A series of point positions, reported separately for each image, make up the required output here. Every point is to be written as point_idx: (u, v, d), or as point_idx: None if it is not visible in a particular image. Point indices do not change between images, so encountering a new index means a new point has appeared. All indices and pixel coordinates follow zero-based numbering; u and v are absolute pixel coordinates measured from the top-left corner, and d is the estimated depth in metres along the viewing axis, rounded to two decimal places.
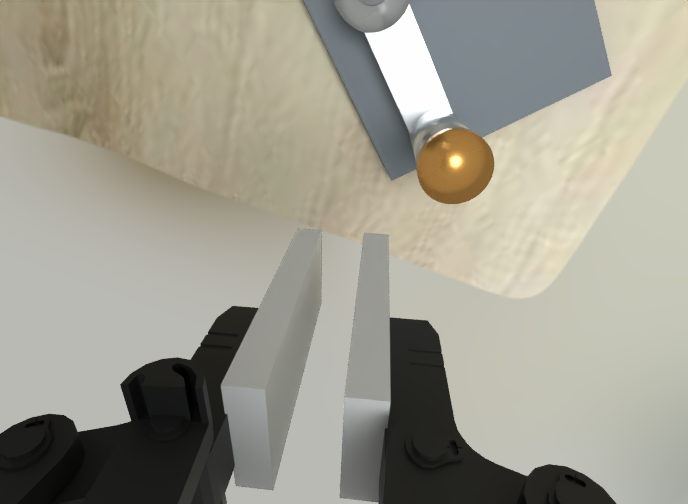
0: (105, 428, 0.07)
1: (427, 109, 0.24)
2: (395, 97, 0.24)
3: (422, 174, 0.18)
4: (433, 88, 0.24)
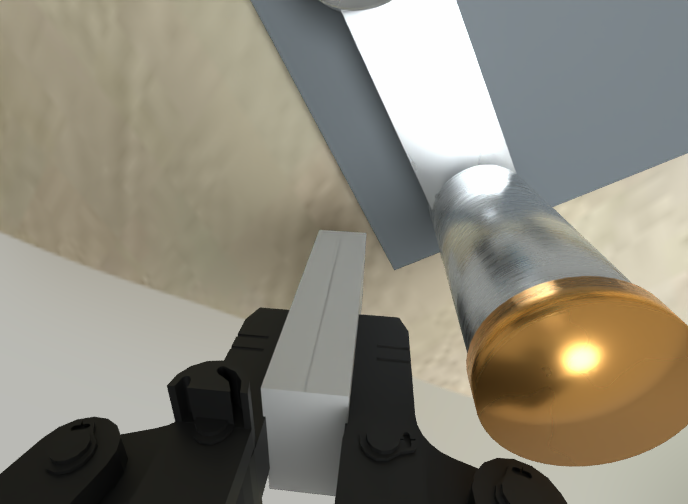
0: (145, 431, 0.07)
1: (466, 164, 0.12)
2: (404, 141, 0.12)
3: (487, 403, 0.06)
4: (480, 125, 0.12)
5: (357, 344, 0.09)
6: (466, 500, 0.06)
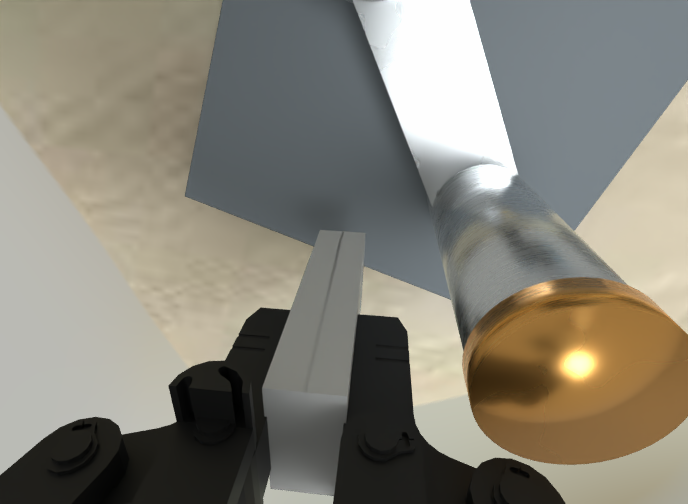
0: (146, 431, 0.07)
1: (469, 163, 0.12)
2: (408, 136, 0.12)
3: (482, 398, 0.07)
4: (485, 124, 0.12)
5: (356, 344, 0.09)
6: (464, 500, 0.06)
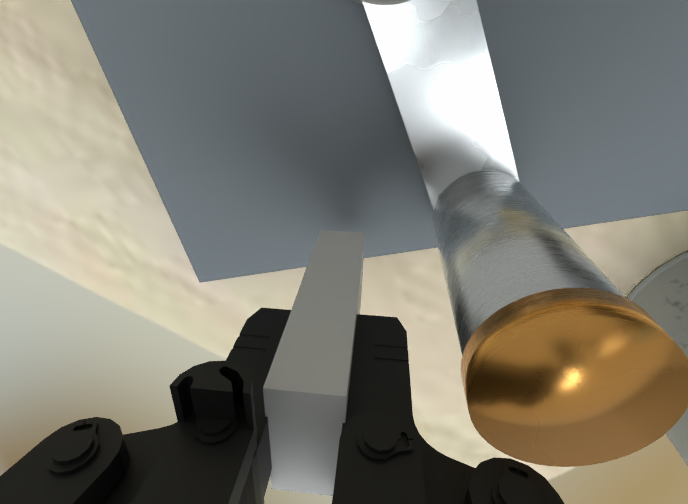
0: (147, 431, 0.07)
1: (472, 168, 0.13)
2: (413, 139, 0.12)
3: (480, 400, 0.07)
4: (489, 130, 0.12)
5: (355, 344, 0.09)
6: (463, 500, 0.06)
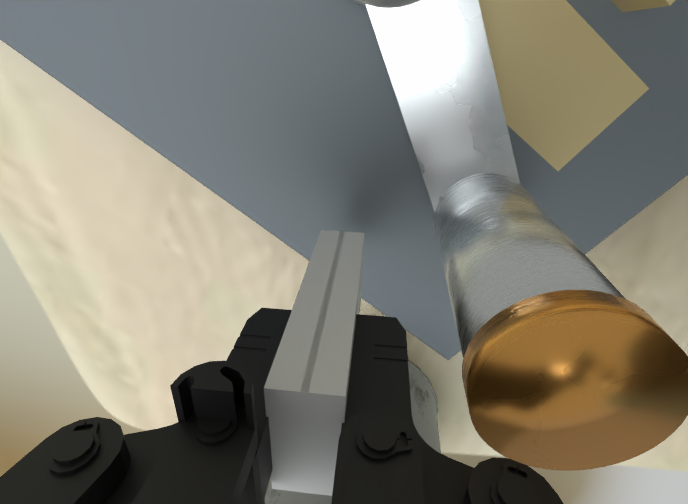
0: (148, 431, 0.07)
1: (473, 171, 0.13)
2: (414, 142, 0.12)
3: (481, 403, 0.07)
4: (491, 133, 0.12)
5: (354, 344, 0.09)
6: (462, 500, 0.06)
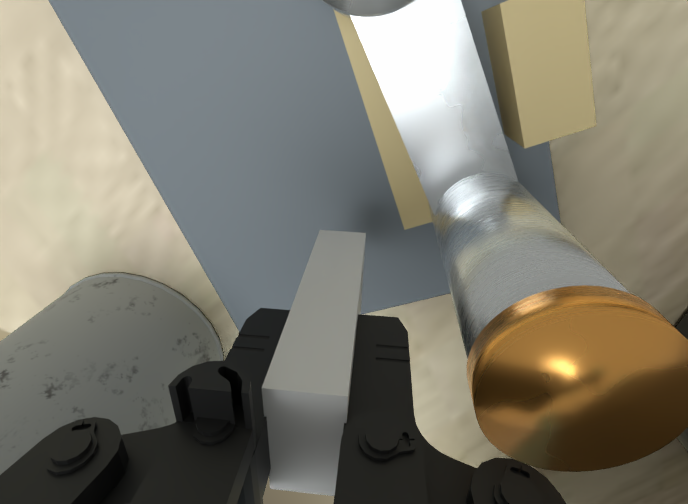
0: (145, 431, 0.07)
1: (469, 171, 0.13)
2: (408, 147, 0.12)
3: (487, 407, 0.07)
4: (484, 133, 0.12)
5: (356, 344, 0.09)
6: (465, 500, 0.06)
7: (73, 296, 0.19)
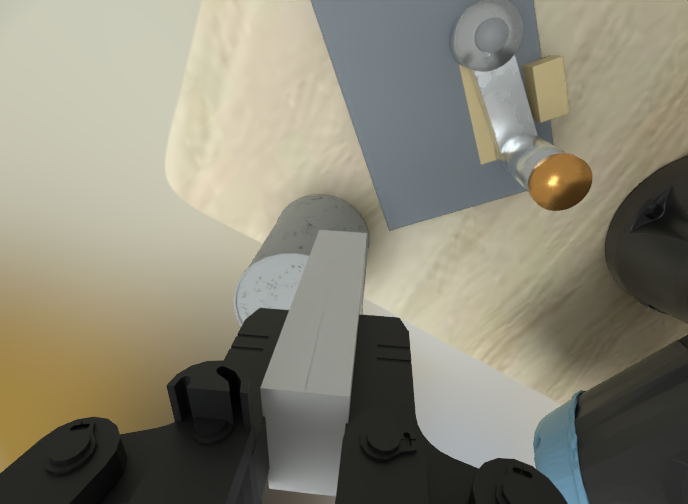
0: (144, 431, 0.07)
1: (517, 132, 0.30)
2: (492, 122, 0.30)
3: (535, 187, 0.24)
4: (524, 116, 0.30)
5: (358, 344, 0.09)
6: (467, 500, 0.06)
7: (305, 203, 0.36)
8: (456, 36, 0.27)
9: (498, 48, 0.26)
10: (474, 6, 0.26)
